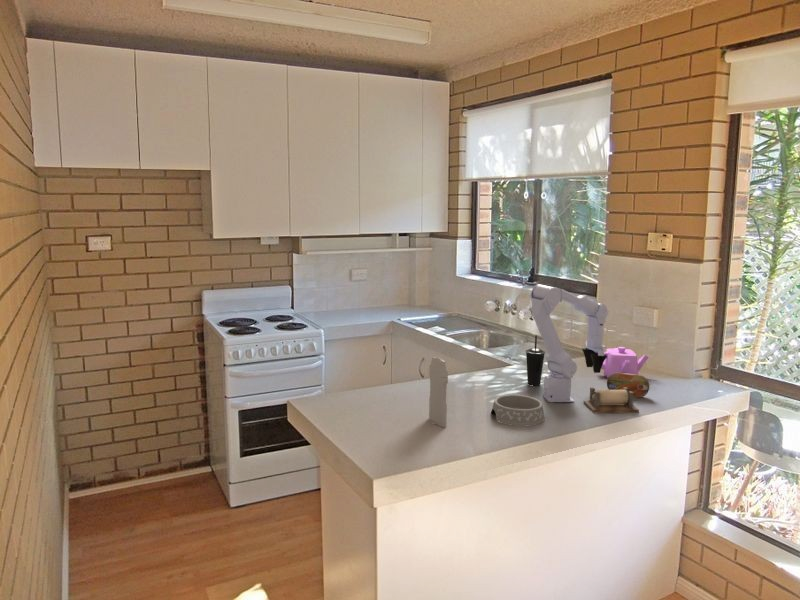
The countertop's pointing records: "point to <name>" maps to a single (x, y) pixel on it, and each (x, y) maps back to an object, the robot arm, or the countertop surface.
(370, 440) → the countertop surface
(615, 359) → the teakettle
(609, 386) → the tin
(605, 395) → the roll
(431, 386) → the dispenser
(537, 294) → the robot arm
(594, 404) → the holder
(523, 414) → the dog bowl
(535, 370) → the drinking cup
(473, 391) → the countertop surface
